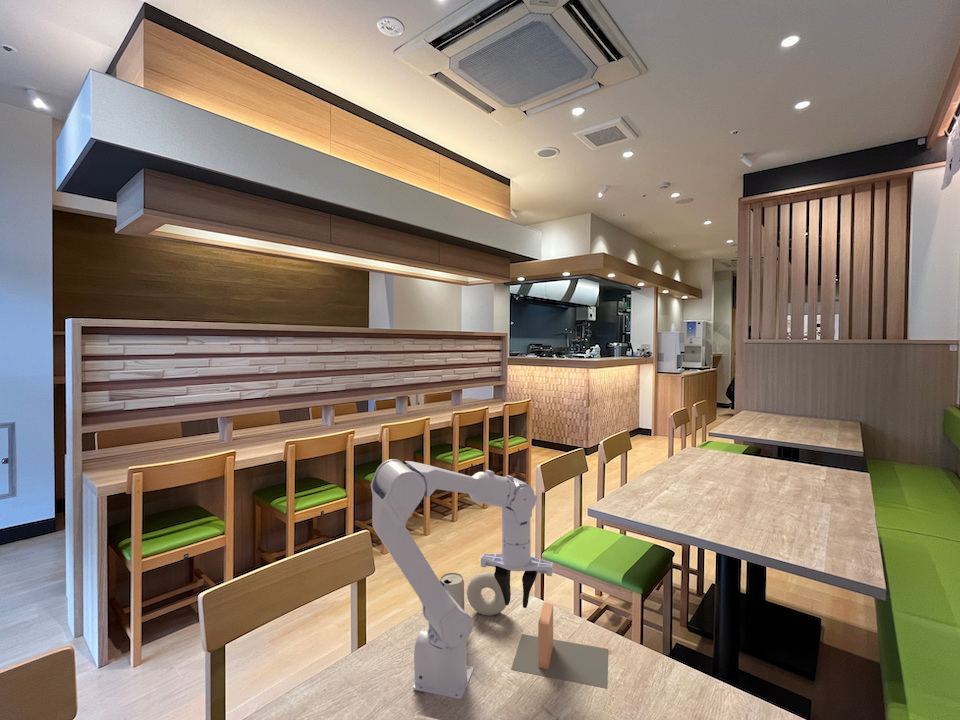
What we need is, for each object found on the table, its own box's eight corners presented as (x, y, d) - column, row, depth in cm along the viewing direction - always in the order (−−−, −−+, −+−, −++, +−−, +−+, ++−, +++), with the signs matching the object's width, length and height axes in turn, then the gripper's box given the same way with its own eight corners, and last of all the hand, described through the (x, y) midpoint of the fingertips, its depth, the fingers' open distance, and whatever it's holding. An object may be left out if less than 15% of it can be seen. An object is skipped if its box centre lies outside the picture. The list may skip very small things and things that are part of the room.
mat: (511, 671, 91) (511, 669, 91) (521, 635, 102) (521, 633, 102) (607, 690, 86) (607, 688, 86) (608, 650, 97) (608, 648, 97)
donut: (510, 611, 110) (510, 570, 110) (509, 620, 107) (508, 578, 106) (468, 608, 112) (467, 567, 111) (465, 617, 108) (465, 575, 108)
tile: (538, 667, 92) (538, 622, 91) (543, 644, 98) (543, 602, 98) (548, 669, 91) (548, 624, 90) (553, 645, 98) (553, 604, 97)
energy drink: (435, 630, 103) (434, 578, 103) (454, 620, 107) (453, 569, 106) (450, 642, 100) (449, 588, 99) (469, 631, 103) (469, 578, 102)
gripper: (554, 534, 97) (554, 598, 97) (486, 526, 101) (487, 588, 101) (550, 550, 90) (550, 618, 91) (477, 541, 94) (478, 606, 95)
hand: (516, 603), depth 96 cm, fingers open, 3 cm apart
